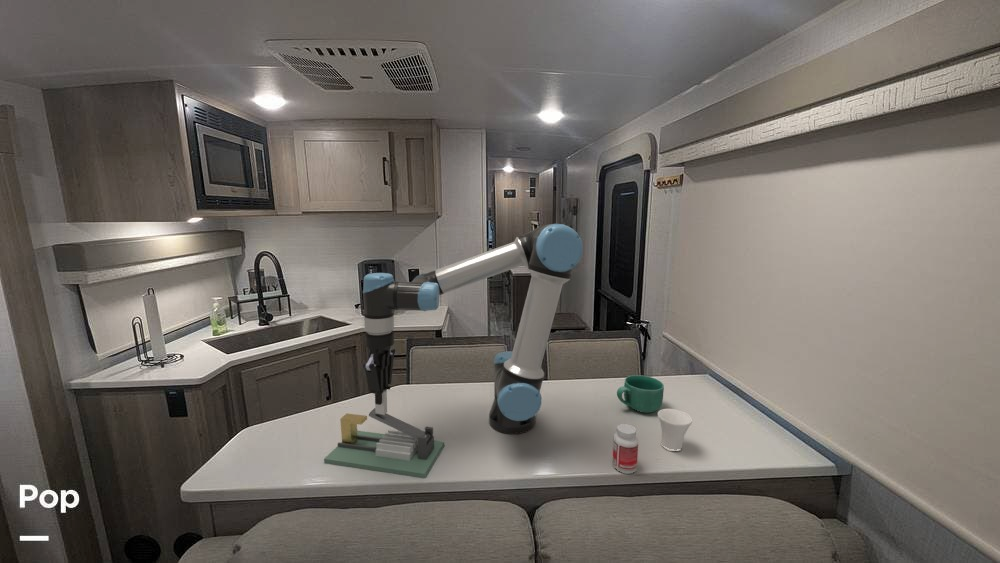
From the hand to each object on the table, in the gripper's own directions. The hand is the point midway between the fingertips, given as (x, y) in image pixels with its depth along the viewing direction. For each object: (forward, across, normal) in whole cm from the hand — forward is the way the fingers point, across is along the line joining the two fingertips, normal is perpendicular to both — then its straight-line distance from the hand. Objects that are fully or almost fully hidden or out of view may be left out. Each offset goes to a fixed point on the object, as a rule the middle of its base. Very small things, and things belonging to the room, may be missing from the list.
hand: (381, 412), depth 102 cm
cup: (+9, -19, +81) cm, 83 cm away
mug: (+10, -41, +74) cm, 85 cm away
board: (+12, +1, +2) cm, 12 cm away
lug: (+11, 0, -8) cm, 14 cm away
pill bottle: (+10, -7, +66) cm, 67 cm away
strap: (+4, 0, +5) cm, 6 cm away
